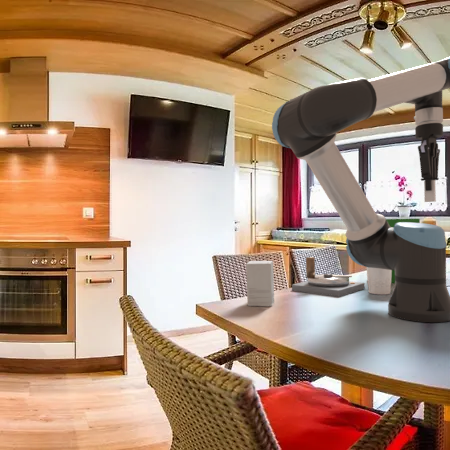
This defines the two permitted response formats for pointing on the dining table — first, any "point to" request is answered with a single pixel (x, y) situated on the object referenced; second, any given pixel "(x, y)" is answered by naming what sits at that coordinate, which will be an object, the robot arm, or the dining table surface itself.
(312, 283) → the capstan dial
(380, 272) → the white cup
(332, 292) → the dial base
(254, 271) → the supplement box
